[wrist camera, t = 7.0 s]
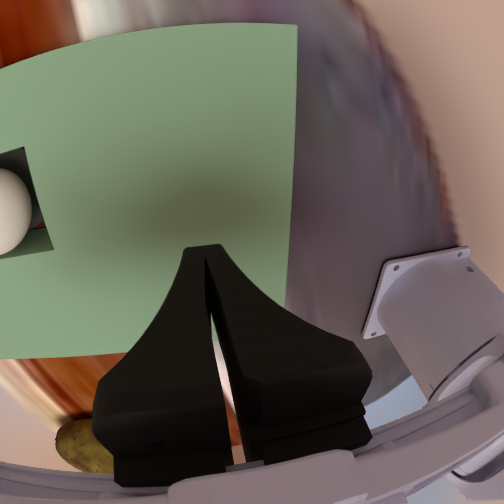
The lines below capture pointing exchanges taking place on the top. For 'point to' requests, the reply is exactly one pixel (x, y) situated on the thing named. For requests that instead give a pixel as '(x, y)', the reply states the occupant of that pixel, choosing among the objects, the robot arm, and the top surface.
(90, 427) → the potato
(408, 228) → the top surface
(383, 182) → the top surface
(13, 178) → the ball
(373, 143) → the top surface
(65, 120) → the putting mat
